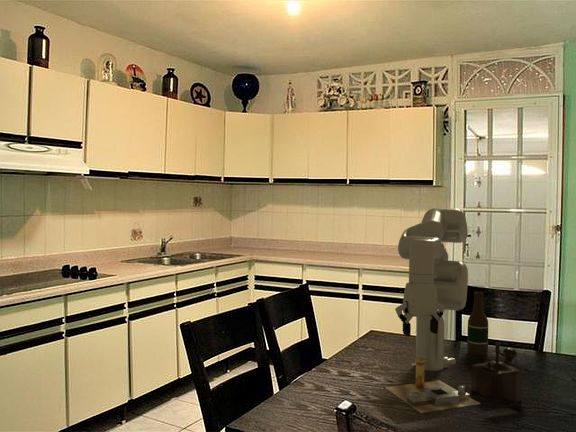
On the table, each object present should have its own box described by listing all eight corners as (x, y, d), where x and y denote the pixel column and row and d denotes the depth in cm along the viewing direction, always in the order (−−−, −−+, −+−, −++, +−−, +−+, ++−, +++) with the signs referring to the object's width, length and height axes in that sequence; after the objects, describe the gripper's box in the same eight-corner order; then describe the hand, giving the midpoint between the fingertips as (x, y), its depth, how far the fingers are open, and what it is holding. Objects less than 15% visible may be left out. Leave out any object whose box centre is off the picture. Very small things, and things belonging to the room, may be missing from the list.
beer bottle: (465, 349, 208) (466, 290, 207) (485, 350, 206) (486, 290, 206) (469, 355, 200) (470, 293, 199) (490, 356, 199) (491, 294, 198)
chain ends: (457, 391, 159) (457, 381, 158) (474, 401, 151) (475, 391, 151) (403, 399, 152) (403, 388, 152) (418, 409, 145) (418, 399, 145)
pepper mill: (468, 394, 160) (469, 337, 159) (495, 389, 165) (496, 333, 164) (508, 414, 146) (510, 350, 145) (536, 407, 151) (538, 346, 150)
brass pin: (421, 385, 163) (421, 357, 163) (427, 389, 160) (428, 360, 160) (412, 386, 162) (412, 358, 162) (418, 390, 159) (418, 361, 159)
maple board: (439, 384, 168) (439, 380, 168) (480, 408, 149) (480, 403, 149) (384, 392, 162) (384, 387, 162) (420, 418, 143) (420, 412, 143)
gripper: (438, 276, 166) (437, 329, 167) (390, 278, 161) (389, 333, 161) (452, 279, 159) (451, 334, 159) (403, 281, 153) (402, 339, 154)
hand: (420, 334), depth 160 cm, fingers open, 9 cm apart
